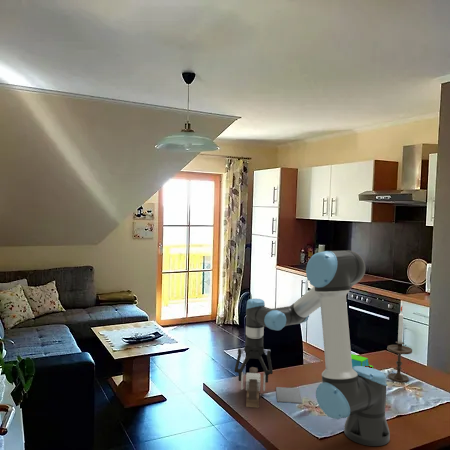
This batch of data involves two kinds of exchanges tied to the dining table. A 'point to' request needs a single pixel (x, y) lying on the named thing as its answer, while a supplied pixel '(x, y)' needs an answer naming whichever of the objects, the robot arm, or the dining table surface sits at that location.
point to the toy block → (359, 361)
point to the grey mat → (288, 395)
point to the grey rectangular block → (253, 376)
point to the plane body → (252, 391)
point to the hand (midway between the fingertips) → (252, 388)
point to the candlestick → (399, 353)
